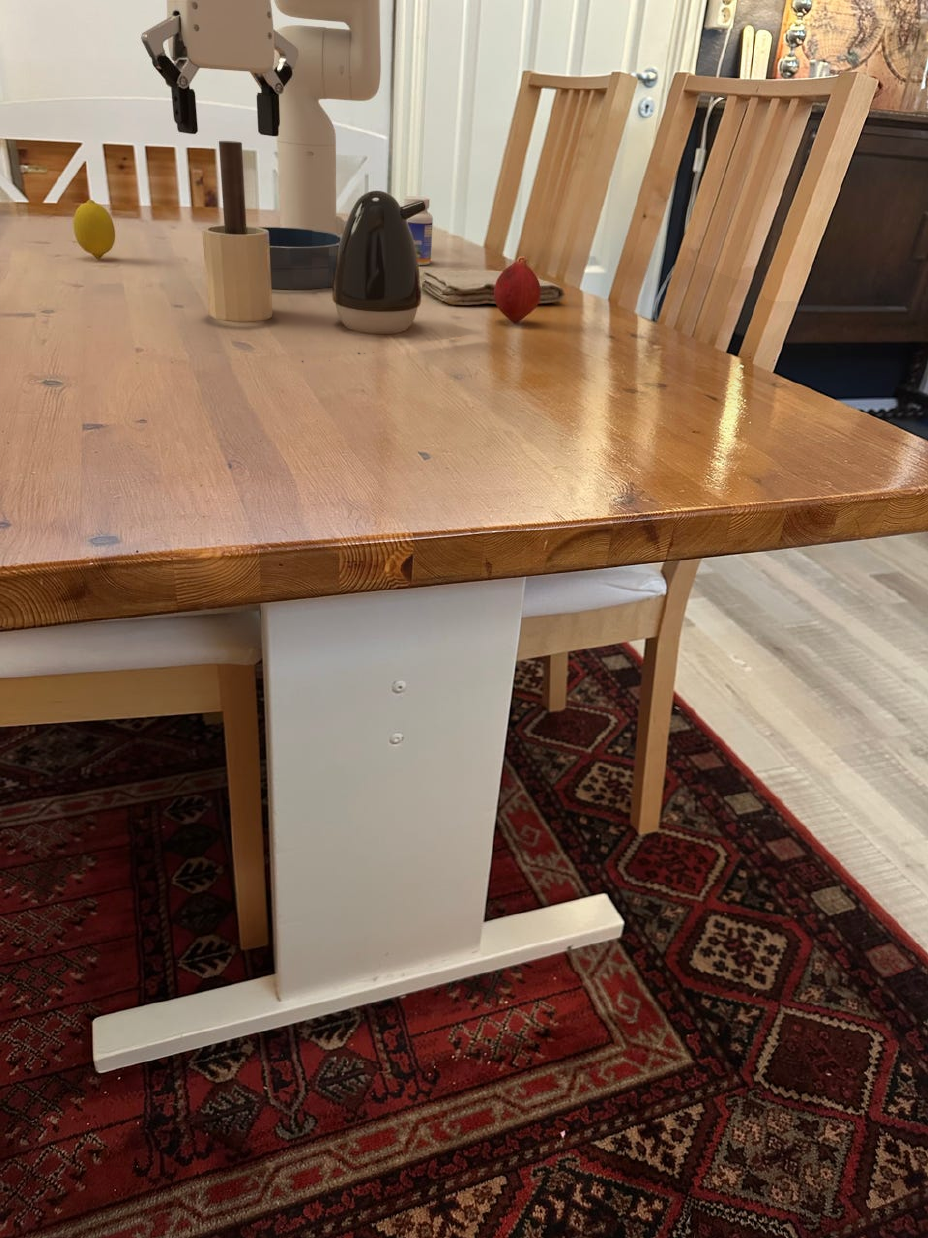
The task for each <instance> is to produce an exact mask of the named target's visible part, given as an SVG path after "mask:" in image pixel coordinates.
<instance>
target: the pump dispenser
mask: <svg viewBox="0 0 928 1238" xmlns="http://www.w3.org/2000/svg"><path fill="white" fill-rule="evenodd" d="M425 209H426V206H425V203H424V201H422V200H421V201H418V202H415V203H412V204H409V205H406V206H404V205H403V206H401V205H400V203H399V202H398V201H397V199H396V198H395V197H394V196H392V195H391V194H390V193H388V192H385V191H382V190H371V191H368V192H366V193H364V194H363V195H361V196H360V197H359V198H358V199H357V200H356V202H355V203H354V205H353V207H352V208H351V210H350V212H349V215H348V217H347V220H346V221H347V222H346V225H345V227H344V230H343V233H342V236H341V240H340V243H339V247H338V251H337V256H336V261H335V268H334V276H333V286H332V287H331V288H332V289H331V297H332V298H331V299H332V301H333V303H334V304H335V308H336V312H337V315H338V317H339V319H340V321H341V322H342V324H343V325H344V326H345V327H346V328H347V329H348V330H351V331H354V332H358V333H363V334H371V335H391V334H400V333H403V332H405V331H407V330H408V329H409V327H410V326H411V325H412V323H413V322H414V320H415V318H416V315H417V311H418V307H420V305H421V303H422V284H421V275H420V265H418V259H417V254H416V249H415V245H414V241H413V237H412V234H411V231H410V228H409V225H408V222H407V219H409V218H411V217H412V216H414V215H416V214H418V213H420V212H422V211H424V210H425Z"/></svg>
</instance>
